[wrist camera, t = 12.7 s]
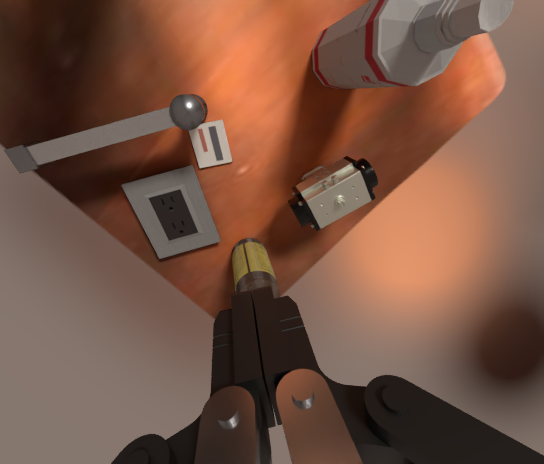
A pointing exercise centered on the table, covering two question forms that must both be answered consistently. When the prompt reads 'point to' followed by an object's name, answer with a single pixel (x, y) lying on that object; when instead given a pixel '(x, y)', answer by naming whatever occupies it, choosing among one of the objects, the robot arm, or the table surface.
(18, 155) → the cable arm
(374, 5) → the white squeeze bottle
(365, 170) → the pneumatic valve
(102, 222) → the table surface
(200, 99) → the arm post
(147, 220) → the electrical outlet
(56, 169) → the table surface
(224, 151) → the label plate
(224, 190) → the table surface
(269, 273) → the sauce bottle
